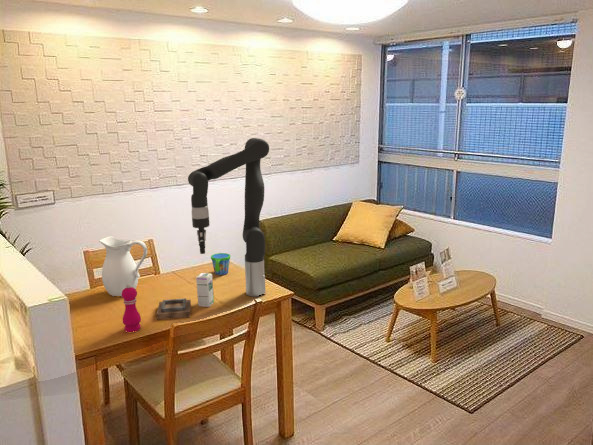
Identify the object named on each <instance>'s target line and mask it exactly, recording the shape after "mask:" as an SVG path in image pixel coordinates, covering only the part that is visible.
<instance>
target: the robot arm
mask: <svg viewBox="0 0 593 445" xmlns="http://www.w3.org/2000/svg"><path fill="white" fill-rule="evenodd" d="M269 152H270V146H269V143H268V142H267V141H266V140H265V139H262V138H256V137H251V138H249V139H248V140H247V141H246V143H245V146H244V149H243V150H241V151H238V152H235V153H234V154H231V155H227V156H225V157H221V158H220V159H218V160H216V161H213V162H211V163H210V164H208V165H206V166H203V167H200V168H198V169H195V170H194V171H192V172H190V174H189V175H188V176H187V182H188V184H189V185H190V186H192V194H191V198H190V201H191V223H192V228H194V229H197V230H196V236H197V241H198V246H199V254H200V255H205V254H206V241H207V238H206V237H207V230H206V229H205V228H208V227H210V226H211V225H210V213H209V212H210V211H209V206H208V192H209V181H211V180H217V179H219V178H221V177H223V176H224V175H227V174H228V173H230V172H232V171H234V170H236V169H238V168H240V167H243V166H245V180H244V182H245V183H244V221H243V228H242V240H243V242H244V243H245V254H244V270H245V271H244V273H245V274H244V275H245V293H246V295H247V296H248V297H260V296H259V295H261V294H264V293H265V294H266V276H265V256H266V255H265V253H266V238H265V233H264V232H263V231H262V230H261V229H260V215H261V212H262V208H263V206H264V201H265V183H264V179H263V178H264V177H263V174H262V170H261V162H262V161H261V159H263V158H266V157H267V156H268V154H269ZM261 296H262V295H261Z"/></svg>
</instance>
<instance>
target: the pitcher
mask: <svg viewBox="0 0 593 445" xmlns="http://www.w3.org/2000/svg"><path fill="white" fill-rule="evenodd" d="M98 241H99V242H100V243H101V244H102V245H103V246H104V248H105V249H106V254H105V258H104V261H103V265H102V269H101V270H102V271H101V280H102V284H103V287H104V288H105V290H106V291H107V293H108V294H109V295H110V296H111V295H112V296H111V297H114V296H121V297H122V291H123V289H125V288H127V287H126V285H127V284H130V285H131V287H133V288H135V289H136V288H137V286H138V283H139V278H141V275H140V273H139V268H140V266H141V265H142V263H143V262H144V261H145V259H146V257H147V256H148V255H147V254H148V247H147V244H146V243H145V242H144V241H142V240H134V241H132V240H131V239H130V240H123V239H120V238H118V237H115V236H111V235H110V236H109V235H108V236H106V237H104V238H102V239H100V240H98ZM135 245H139V246H141V248H142V249H143V253H142V256H141V259H140V260H139V262H138V263H137V264H136V262H135V260H134V258H133V256H132V254H131V252H130V251H131V250H132V247H133V246H135ZM136 290H137V289H136Z"/></svg>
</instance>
